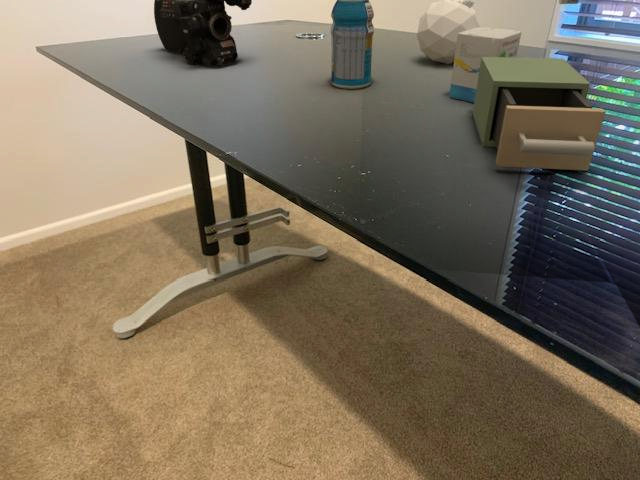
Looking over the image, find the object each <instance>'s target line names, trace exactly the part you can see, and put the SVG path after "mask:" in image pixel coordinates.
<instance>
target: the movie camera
mask: <svg viewBox="0 0 640 480" xmlns="http://www.w3.org/2000/svg"><path fill="white" fill-rule="evenodd" d="M252 1H253V0H154V3H153V16H154V17H153V18H154V23H155V28H156V30H157V34H158V37H159V40H160V43H161V44H162V47H163V48H164V49H165V51H167V52H169V53H173V54H177V55H183V58H184V60H186V62H187V64H188V65H193V66H195V65H200V64H201V65H205V66H212V67H213V66H214V67H215V66H229V65H231V64H236V63H239V62H240V61H239V60H238V56H239V55H238V50H237V45H236V40H235V38H234V37H233V36H232V35H231V32H232V28H233V27H232V26H233V25H232V16H231V15H229V14H228V13H227V10H226V5H227V6H229V7H235V6H236V7H238V8H240V10H241V11H247V9H250V7H251V5H252V4H253V3H252ZM225 4H226V5H225ZM219 59H223V60H222V61H220V60H219Z"/></svg>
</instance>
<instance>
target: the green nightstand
mask: <svg viewBox="0 0 640 480" xmlns="http://www.w3.org/2000/svg"><path fill="white" fill-rule="evenodd" d="M590 86H591V82H589V81H588V79H586V78H585V77H584V76H583V75H582V74H580V73H579V72H578V71H577V69H575V68H574V67H573V66H572V65H571V64H570V63H569V62H567V61H566V60H565V59H564V58H553V57H552V58H551V57H517V58H511V57H481V64H480V70H479V77H478V83H477V90H476V96H475V103H474V102H473V110H472V116H473V120H474V123H475V126H476V130H477V132H478V133H477V134H478V136H479V139H480V142H481V145H482V147H488V148H489V147H490V148H496V145H495V142H494V140H493V137H492V134H491V127H492V122H493V116H494V110H495V105H496V99H497V93H498V88H499V87H527V88H561V89H576V90H577V91H578V92H579V93H580V94H581V95H582V96H583V97H584V98H585V99H586V100H587V97H588V93H589V89H590Z"/></svg>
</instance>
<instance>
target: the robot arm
mask: <svg viewBox="0 0 640 480" xmlns="http://www.w3.org/2000/svg"><path fill="white" fill-rule="evenodd" d="M579 2H580V0H558V4H559V5H577V4H579Z"/></svg>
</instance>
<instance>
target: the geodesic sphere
mask: <svg viewBox="0 0 640 480" xmlns="http://www.w3.org/2000/svg"><path fill="white" fill-rule="evenodd" d="M474 4H475V2H474V1H472V0H469V1H468V0H466V1H465V0H438V1H435V2H432V3H431V4H430V5H429V6H428V7H427V9H425V11H424V12H423V14H422V15H421V16H420V18H419V22H418V28H417V34H416V37H417V43H418V45H419V50H420V52H422V53H423V54H424V55H426V56H427V57H428V58H429V59H431V60H432V61H433V62H437V63H443V64H448V65H449V64H450V65H451V64H453V63H454V58H455V51H456V43H457V36H458V33H460V32H463V31H467V30H470V29H473V28H477V27H481V25H480V21H479V18H478V15H477V11H476V10H475V9H474V8H473V7H474Z"/></svg>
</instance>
